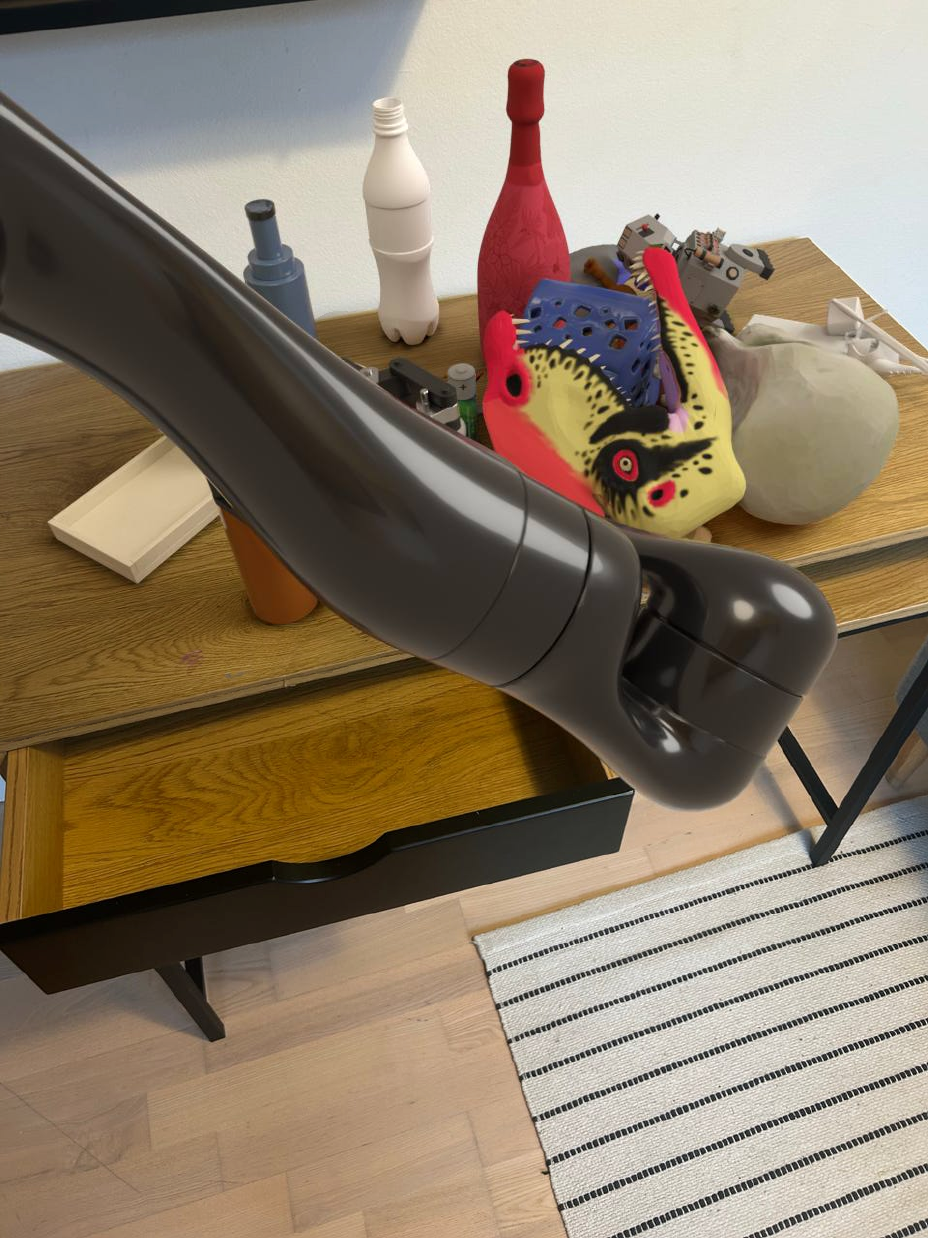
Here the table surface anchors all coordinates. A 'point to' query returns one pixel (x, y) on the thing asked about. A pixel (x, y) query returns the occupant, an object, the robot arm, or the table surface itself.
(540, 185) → the wine bottle
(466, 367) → the battery
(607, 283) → the toy figurine
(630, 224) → the figurine
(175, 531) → the tray
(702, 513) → the toy
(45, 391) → the table surface
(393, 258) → the water bottle
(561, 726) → the robot arm
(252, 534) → the amber bottle
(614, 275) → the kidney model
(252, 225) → the slate-blue bottle
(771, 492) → the skull
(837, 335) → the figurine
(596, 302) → the flower pot
